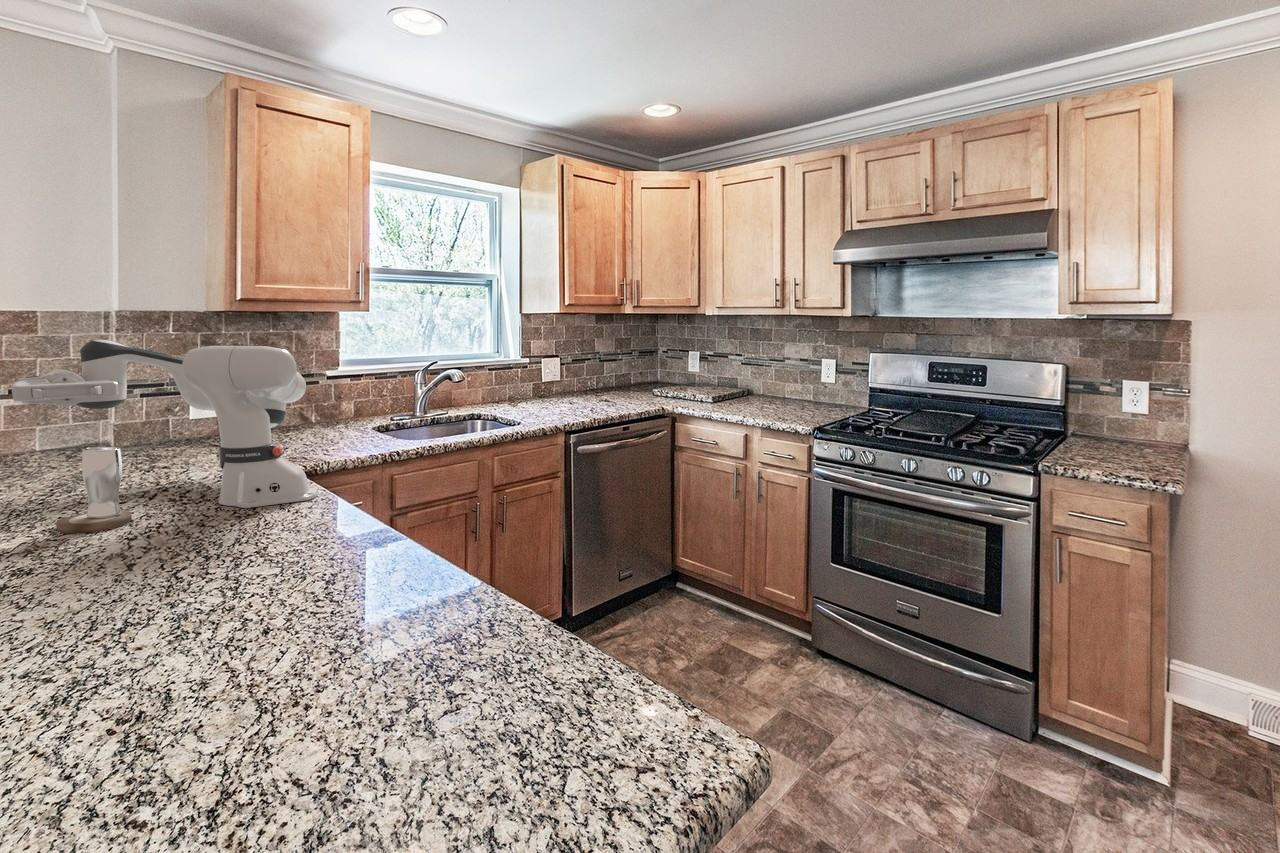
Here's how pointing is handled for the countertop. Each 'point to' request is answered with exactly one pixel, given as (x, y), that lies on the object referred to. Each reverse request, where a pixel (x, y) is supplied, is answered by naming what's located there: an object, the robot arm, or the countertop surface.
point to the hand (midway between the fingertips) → (69, 392)
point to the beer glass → (102, 480)
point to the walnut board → (91, 523)
